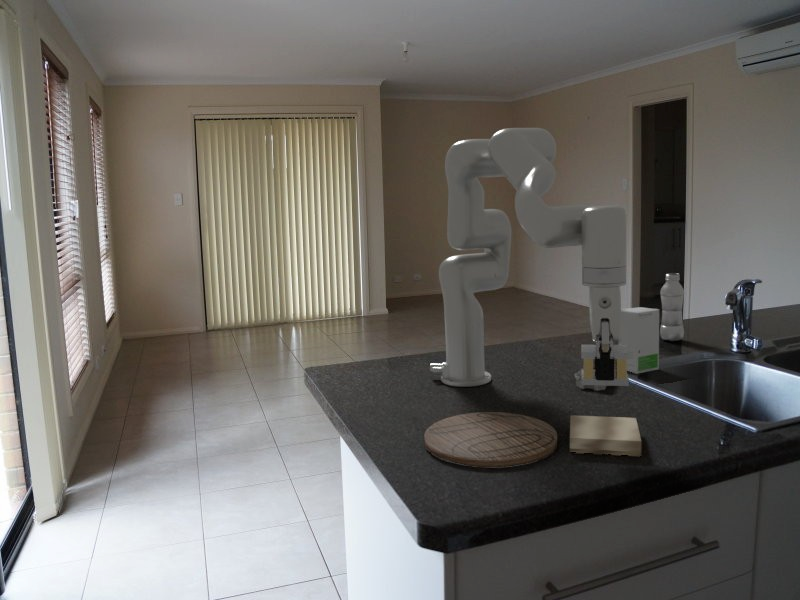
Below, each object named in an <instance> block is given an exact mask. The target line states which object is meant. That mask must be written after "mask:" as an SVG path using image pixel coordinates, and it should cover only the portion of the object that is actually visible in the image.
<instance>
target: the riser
mask: <svg viewBox="0 0 800 600" xmlns="http://www.w3.org/2000/svg"><path fill="white" fill-rule="evenodd" d="M569 423H570V425H569V453H570V452H576V453H575V454H584V453H593V454H592V455H602V454H605V455H606V454H607V455H608V454H611V455H610V456H621V455H628V457H640V456H641V457H642V437H641V434H640V433H641V432H640V430H639V424H638V422H637V417H625V416H623V417H620V416H598V415H597V416H595V415H572V414H570V421H569ZM607 455H606V456H607ZM608 456H609V455H608Z"/></svg>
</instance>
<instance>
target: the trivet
mask: <svg viewBox="0 0 800 600" xmlns="http://www.w3.org/2000/svg"><path fill="white" fill-rule="evenodd" d="M423 436H424V438H423V441H425V442H424V447H426V448H427V449H428V450H429V451H430V452H431V453H433V454H435V455H436V456H438V457H440V458H443V459H446V460H449V461H452V462H455V463H460V464H464V465H469V466H477V467H502V466H504V467H505V466H514V465H519V464H526V463H530V462H533V461H536V460H540V459H543V458H544V457H546V456H548V455H550V454H551V455H553V454H552V453H554V452H555V451H556V450H557V449H558V432H557V431H556V430H555V428H554V426H552V425H550V424H549V423H547V422H546V421H543V420H542V419H541V420H540V419H539V418H536V417H532V416H528V415H523V414H519V413H513V412H511V413H510V412H505V411H504V412H503V411H502V412H501V411H498V412H497V411H484V412H470V413H463V414H457V415H453V416H449V417H446V418H443V419H441V420H438V421H436V422H434V423H433V424H432V425H430V426H429V427H427V428H426V430H425V432H424V434H423ZM426 448H425V449H426ZM555 449H556V450H555ZM554 450H555V451H554ZM551 455H550V456H551ZM548 457H549V456H548ZM546 458H547V457H546ZM543 460H544V459H543Z"/></svg>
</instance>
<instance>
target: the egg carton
mask: <svg viewBox="0 0 800 600" xmlns="http://www.w3.org/2000/svg"><path fill="white" fill-rule="evenodd" d="M581 370H584V367H582V368H580V370H578V371H577V372H575V373H574V374H573V375H574V379H576V380H575V381H576V382H575V387H577V388H579V389H581V390H585V389H592V390H594V391H597V392H599V391H605V390H606V388H607V386H606V385H582V380H581ZM593 370H595V365H593Z"/></svg>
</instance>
